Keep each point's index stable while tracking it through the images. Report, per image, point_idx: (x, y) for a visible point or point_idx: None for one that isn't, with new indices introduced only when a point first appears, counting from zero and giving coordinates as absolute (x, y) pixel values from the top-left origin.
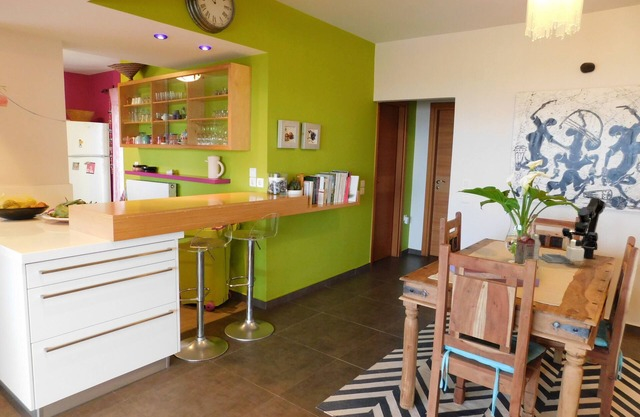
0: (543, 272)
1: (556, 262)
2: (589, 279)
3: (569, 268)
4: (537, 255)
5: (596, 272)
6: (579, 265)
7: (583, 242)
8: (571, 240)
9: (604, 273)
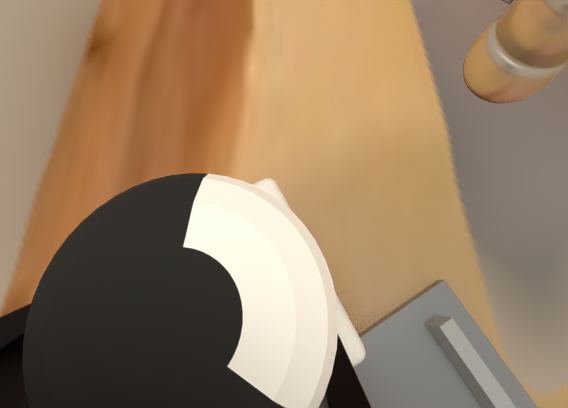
0: (402, 6)
1: (387, 318)
2: (169, 19)
3: None
4: None
5: None
6: None
7: (1, 330)
8: (312, 252)
9: (46, 227)
